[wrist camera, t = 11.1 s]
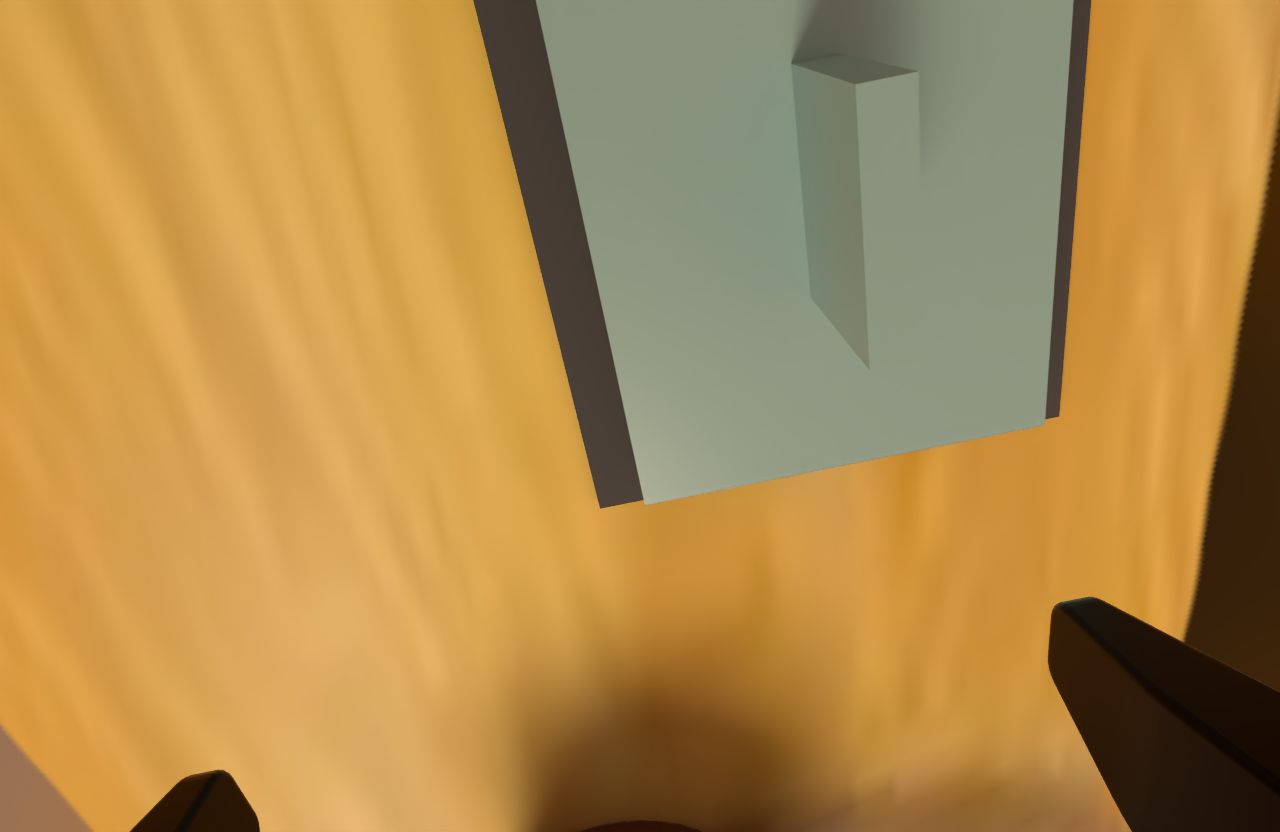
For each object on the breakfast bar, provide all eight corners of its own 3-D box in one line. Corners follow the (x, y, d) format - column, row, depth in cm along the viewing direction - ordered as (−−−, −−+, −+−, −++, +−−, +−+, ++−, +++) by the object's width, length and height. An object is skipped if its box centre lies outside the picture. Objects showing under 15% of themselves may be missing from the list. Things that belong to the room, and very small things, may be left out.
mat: (1051, 409, 23) (1059, 416, 22) (599, 500, 23) (600, 508, 23) (1104, -326, 15) (1116, -334, 15) (429, -185, 15) (426, -189, 15)
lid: (1014, 397, 22) (1144, 514, 17) (639, 472, 22) (662, 611, 17) (1044, -271, 15) (1276, -396, 10) (503, -159, 15) (477, -229, 10)
